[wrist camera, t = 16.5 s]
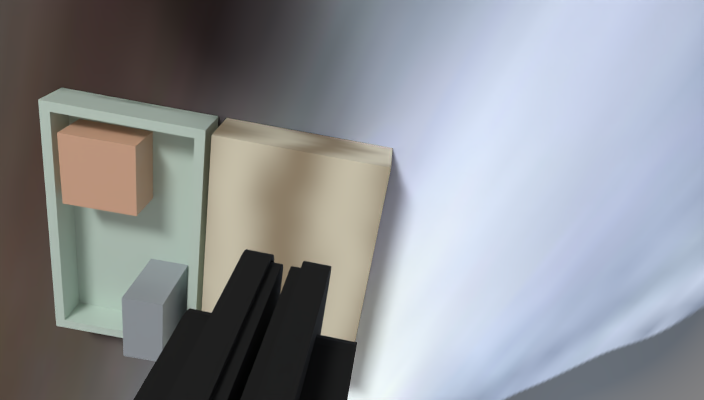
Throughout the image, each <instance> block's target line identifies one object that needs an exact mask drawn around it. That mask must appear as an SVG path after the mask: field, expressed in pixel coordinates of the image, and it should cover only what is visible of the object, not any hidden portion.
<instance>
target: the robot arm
mask: <svg viewBox="0 0 704 400" xmlns="http://www.w3.org/2000/svg"><path fill="white" fill-rule="evenodd" d="M282 275H283V264H279V263H274V255H273V254H268V253H263V252H258V251H253V250H248V249H246V250H244V252H243V253H242V255H241V257H240V259H239V261H238V263H237V265H236V267H235V269H234V271H233V273H232V275H231V276H230V278H229V280H228V282H227V284H226V286H225V288H224V290H223V292H222V294H221V296H220V298H219V299H218V301H217V303H216V305H215V307H214V309H213V311H212V313H210V312H205V311H200V310H195V309H191V308H190V309H188V310H187V311H186V312H185V313H184V315H183V316H182V318H181V320H180V321H179V323H178V325H177V326H176V328H175V330H174V332H173V333H172V335H171V337H170V338H169V340H168V342H167V343H166V345H165V347H164V349H163V350H162V352H161V354H160V355H159V357H158V359H157V361H156V362H155V364H154V366H153V367H152V369H151V371H150V373H149V374H148V376H147V378H146V379H145V381H144V383H143V385H142V386H141V388H140V390H139V391H138V393H137V395H136V397H135V398H134V400H347V397H348V391H349V386H350V380H351V374H352V368H353V362H354V357H355V351H356V345H357V342H353V341H348V340H343V339H338V338H333V337H328V336H323V335H321V329H322V323H323V317H324V311H325V305H326V299H327V293H328V287H329V281H330V275H331V266H328V265H323V264H318V263H313V262H308V261H303V263H302V266H301V268H299V267H294V266H291V267H290V270H289V272H288V275H287V278H286V280H285V283H284V286H283V288H282V291H281V283H282ZM280 292H281V293H280Z"/></svg>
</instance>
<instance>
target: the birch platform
mask: <svg viewBox="0 0 704 400" xmlns="http://www.w3.org/2000/svg"><path fill="white" fill-rule="evenodd" d="M392 149H393V148H388V147H383V146H377V145H372V144H367V143H361V142H356V141H350V140H345V139H339V138H334V137H328V136H323V135H317V134H312V133H307V132H301V131H296V130H290V129H285V128H279V127H274V126H268V125H263V124H257V123H252V122H246V121H241V120H236V119H230V118H226V119H225V120H224V122H223V123H222V124H221V125H220V126H219V127H218V128H217V129H216V131H215V132H214V133H213V134H212V136H211V154H210V172H209V189H208V207H207V224H206V242H205V260H204V277H203V295H202V311H205V312H210V313H212V311H213V309H214V307H215V305H216V303H217V301H218V299H219V298H220V296H221V294H222V292H223V290H224V288H225V286H226V284H227V282H228V280H229V278H230V276H231V275H232V273H233V271H234V269H235V267H236V265H237V263H238V261H239V259H240V257H241V255H242V253H243V252H244V250H246V249H248V250H253V251H258V252H263V253H268V254H273V255H274V263H279V264H283V275H282V283H281V291H282V288H283V286H284V283H285V280H286V278H287V275H288V272H289V270H290V267H291V266H294V267H299V268H301V266H302V263H303V261H308V262H313V263H318V264H323V265H328V266H331V275H330V281H329V287H328V293H327V299H326V305H325V311H324V317H323V323H322V329H321V335H323V336H328V337H333V338H338V339H343V340H348V341H353V342H355V340H356V335H357V330H358V325H359V320H360V315H361V311H362V306H363V301H364V296H365V291H366V286H367V282H368V277H369V272H370V267H371V262H372V257H373V253H374V248H375V243H376V238H377V233H378V228H379V223H380V219H381V214H382V209H383V204H384V199H385V194H386V190H387V185H388V180H389V175H390V170H391V161H392ZM280 293H281V292H280Z"/></svg>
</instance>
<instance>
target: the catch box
mask: <svg viewBox="0 0 704 400" xmlns="http://www.w3.org/2000/svg"><path fill="white" fill-rule="evenodd" d="M38 101H39V114H40V126H41V139H42V151H43V164H44V176H45V189H46V201H47V214H48V226H49V238H50V251H51V263H52V276H53V288H54V301H55V313H56V326H61V327H67V328H72V329H77V330H83V331H88V332H93V333H99V334H104V335H109V336H115V337H120V338H123V324H122V297H123V295H124V294H125V293H126V291H127V290H128V289H129V287H130V286H131V285H132V283H133V282H134V281H135V279H136V278H137V277H138V275H139V274H140V273H141V271H142V270H143V269H144V267H145V266H146V265H147V263H148V262H149V261H150V259H156V260H162V261H168V262H174V263H179V264H185V265H188V282H187V310H188V309H190V308H191V309H195V310H200V311H202V295H203V277H204V260H205V242H206V224H207V207H208V189H209V172H210V154H211V136H212V134H213V133H214V132H215V131H216V129H217V128H218V117H219V116H214V115H208V114H203V113H197V112H192V111H186V110H181V109H176V108H170V107H165V106H159V105H154V104H148V103H143V102H137V101H132V100H126V99H121V98H116V97H110V96H105V95H99V94H94V93H88V92H83V91H77V90H72V89H66V88H60V89H58V90H56V91H54V92H52V93H50V94H48V95H46V96H45V97H43V98H41V99H39V100H38ZM78 119H83V120H89V121H95V122H101V123H106V124H112V125H118V126H124V127H130V128H136V129H141V130H147V131H153V199H152V200H151V201H150V202H149V203H148V204H147V205H146V207H145V208H144V209H143V210H142V211H141V212H140V213H139V214H138V215H137V216H132V215H127V214H121V213H115V212H109V211H103V210H98V209H92V208H86V207H80V206H75V205H69V204H63V201H62V189H61V177H60V164H59V152H58V140H57V132H59V131H61V130H62V129H64V128H65V127H67V126H69V125H70V124H72V123H73V122H75V121H77V120H78Z"/></svg>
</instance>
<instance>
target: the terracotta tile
mask: <svg viewBox="0 0 704 400" xmlns="http://www.w3.org/2000/svg"><path fill="white" fill-rule="evenodd" d="M57 140H58V152H59V164H60V177H61V189H62V201H63V204H69V205H75V206H80V207H86V208H92V209H98V210H103V211H109V212H115V213H121V214H127V215H132V216H137V215H138V214H139V213H140V212H141V211H142V210H143V209H144V208H145V207H146V205H147V204H148V203H149V202H150V201H151V200H152V199H153V131H147V130H141V129H136V128H130V127H124V126H118V125H112V124H106V123H101V122H95V121H89V120H83V119H78V120H77V121H75V122H73V123H72V124H70V125H69V126H67V127H65V128H64V129H62V130H61V131H59V132H57Z"/></svg>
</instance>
